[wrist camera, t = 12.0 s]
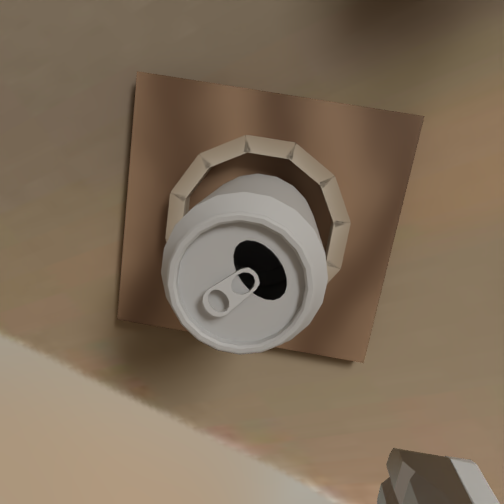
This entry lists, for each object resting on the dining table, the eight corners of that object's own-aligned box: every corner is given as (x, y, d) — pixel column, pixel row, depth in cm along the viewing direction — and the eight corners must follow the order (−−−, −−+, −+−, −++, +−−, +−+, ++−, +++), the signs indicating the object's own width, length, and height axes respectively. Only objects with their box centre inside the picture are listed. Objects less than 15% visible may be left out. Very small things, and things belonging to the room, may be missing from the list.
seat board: (123, 312, 33) (109, 327, 31) (143, 73, 29) (128, 67, 26) (360, 354, 33) (367, 373, 30) (418, 116, 28) (431, 115, 26)
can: (336, 243, 30) (367, 312, 18) (245, 301, 31) (220, 400, 20) (272, 149, 28) (261, 158, 17) (180, 214, 30) (113, 264, 18)
